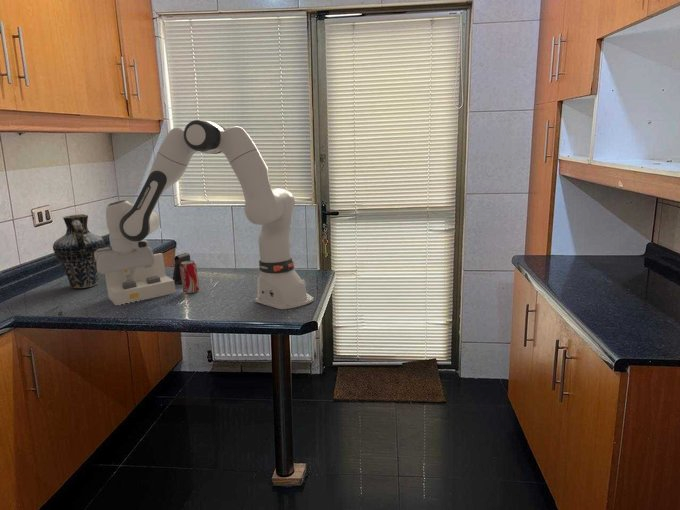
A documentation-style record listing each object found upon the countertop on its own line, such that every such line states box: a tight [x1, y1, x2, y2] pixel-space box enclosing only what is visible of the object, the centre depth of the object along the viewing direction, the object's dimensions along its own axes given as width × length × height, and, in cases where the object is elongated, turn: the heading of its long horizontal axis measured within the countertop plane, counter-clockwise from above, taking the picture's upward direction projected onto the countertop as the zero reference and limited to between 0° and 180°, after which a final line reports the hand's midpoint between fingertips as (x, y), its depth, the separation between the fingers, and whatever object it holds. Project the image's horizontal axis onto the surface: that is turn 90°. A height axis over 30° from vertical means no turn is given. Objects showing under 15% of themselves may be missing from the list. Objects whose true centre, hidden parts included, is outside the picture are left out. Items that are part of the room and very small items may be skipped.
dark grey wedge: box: [172, 252, 199, 286], centre depth 212 cm, size 9×6×12 cm, turn 64°
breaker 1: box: [122, 281, 137, 289], centre depth 194 cm, size 4×4×4 cm
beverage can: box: [180, 260, 200, 294], centre depth 199 cm, size 6×6×12 cm
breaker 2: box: [147, 276, 160, 284], centre depth 199 cm, size 4×4×4 cm
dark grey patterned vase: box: [52, 213, 106, 289], centre depth 213 cm, size 21×19×30 cm
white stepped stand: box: [104, 252, 177, 306], centre depth 197 cm, size 12×22×14 cm, turn 126°
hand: (128, 280), depth 193 cm, fingers closed
